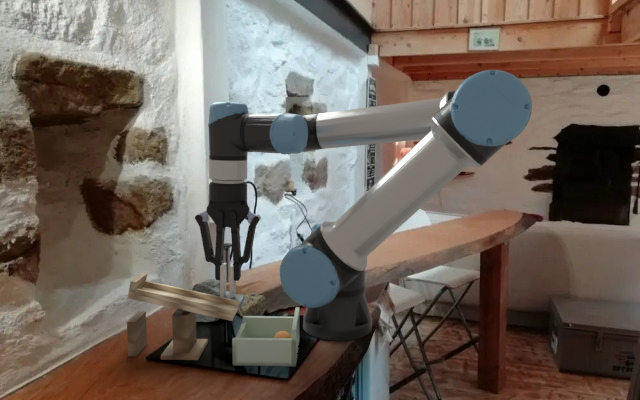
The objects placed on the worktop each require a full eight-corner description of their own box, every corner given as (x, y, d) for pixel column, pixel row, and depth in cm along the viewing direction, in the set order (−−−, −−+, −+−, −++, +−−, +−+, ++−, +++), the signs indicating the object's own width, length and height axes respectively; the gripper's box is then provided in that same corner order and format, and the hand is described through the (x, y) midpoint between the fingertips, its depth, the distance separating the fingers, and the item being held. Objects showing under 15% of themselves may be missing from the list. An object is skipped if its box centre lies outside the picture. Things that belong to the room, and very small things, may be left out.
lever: (242, 303, 107) (246, 283, 107) (230, 328, 93) (234, 305, 93) (150, 283, 107) (154, 263, 106) (124, 305, 93) (128, 282, 93)
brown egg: (275, 327, 99) (273, 344, 100) (273, 334, 96) (271, 352, 96) (293, 329, 99) (291, 346, 100) (292, 336, 96) (290, 354, 96)
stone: (193, 281, 110) (222, 269, 119) (168, 303, 115) (199, 291, 123) (216, 318, 108) (244, 303, 117) (190, 339, 113) (220, 324, 121)
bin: (299, 339, 104) (299, 307, 103) (295, 366, 92) (295, 329, 91) (243, 339, 104) (243, 306, 103) (232, 365, 92) (232, 328, 91)
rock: (273, 316, 118) (273, 297, 118) (242, 321, 114) (241, 302, 114) (262, 307, 124) (262, 289, 124) (232, 312, 121) (231, 293, 120)
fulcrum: (208, 342, 102) (207, 303, 101) (197, 360, 94) (196, 318, 93) (141, 341, 102) (139, 302, 101) (125, 359, 95) (124, 317, 93)
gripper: (266, 180, 104) (264, 290, 107) (197, 178, 104) (198, 288, 107) (261, 184, 97) (260, 302, 100) (187, 182, 97) (188, 300, 100)
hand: (228, 295), depth 103 cm, fingers closed
